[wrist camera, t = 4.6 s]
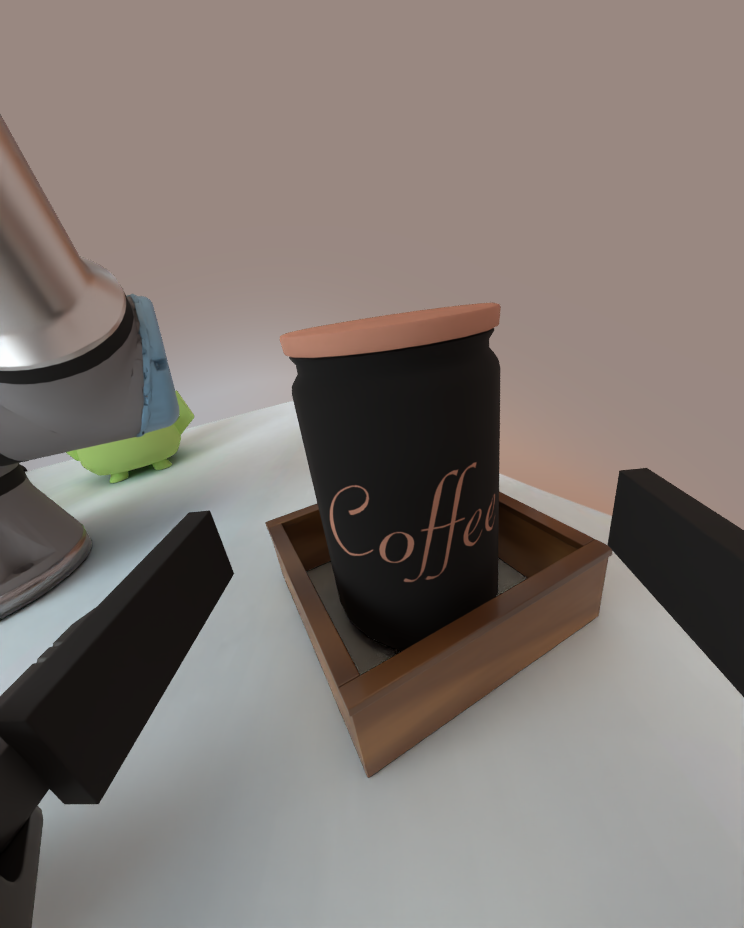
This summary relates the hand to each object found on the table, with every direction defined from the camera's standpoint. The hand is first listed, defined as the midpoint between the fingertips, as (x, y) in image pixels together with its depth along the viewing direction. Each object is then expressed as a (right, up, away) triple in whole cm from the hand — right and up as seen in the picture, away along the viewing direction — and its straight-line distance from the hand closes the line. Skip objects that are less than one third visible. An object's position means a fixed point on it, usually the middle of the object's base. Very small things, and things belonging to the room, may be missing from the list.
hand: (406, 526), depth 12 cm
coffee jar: (+2, -7, +13) cm, 15 cm away
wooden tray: (+2, -7, +13) cm, 15 cm away
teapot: (-39, +1, +46) cm, 60 cm away
